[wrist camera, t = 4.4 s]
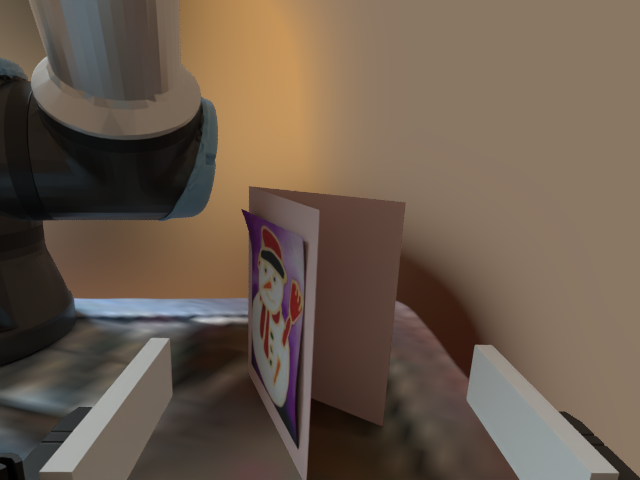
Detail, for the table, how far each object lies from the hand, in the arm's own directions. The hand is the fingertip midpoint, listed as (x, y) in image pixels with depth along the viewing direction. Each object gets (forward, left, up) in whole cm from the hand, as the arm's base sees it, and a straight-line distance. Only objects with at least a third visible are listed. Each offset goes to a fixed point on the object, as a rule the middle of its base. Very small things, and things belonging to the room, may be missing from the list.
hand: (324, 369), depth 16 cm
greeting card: (0, +8, -9) cm, 12 cm away
